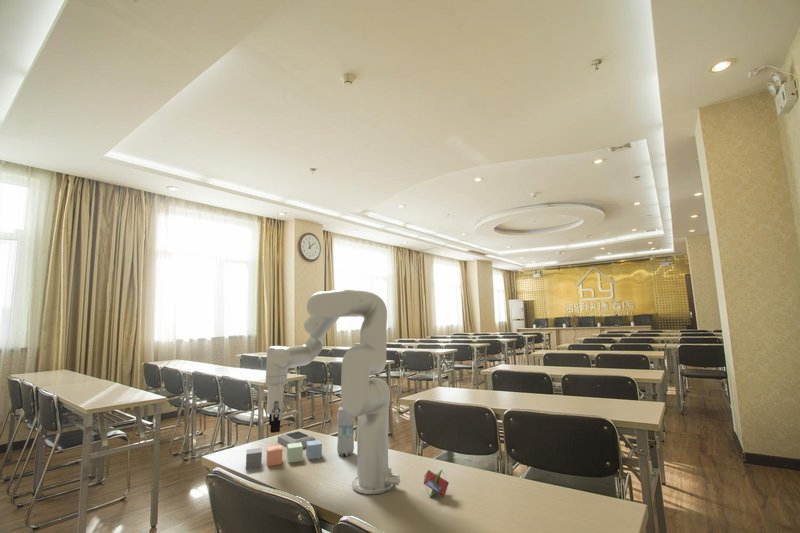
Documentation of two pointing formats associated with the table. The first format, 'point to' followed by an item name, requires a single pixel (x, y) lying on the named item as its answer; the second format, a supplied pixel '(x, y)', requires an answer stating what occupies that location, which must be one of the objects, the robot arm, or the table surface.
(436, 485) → the geometric puzzle
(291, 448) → the sage-green block
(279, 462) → the terracotta block
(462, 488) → the table surface
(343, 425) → the bottle
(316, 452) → the slate-blue block
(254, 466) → the gray block
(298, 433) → the gray dark-screened device
